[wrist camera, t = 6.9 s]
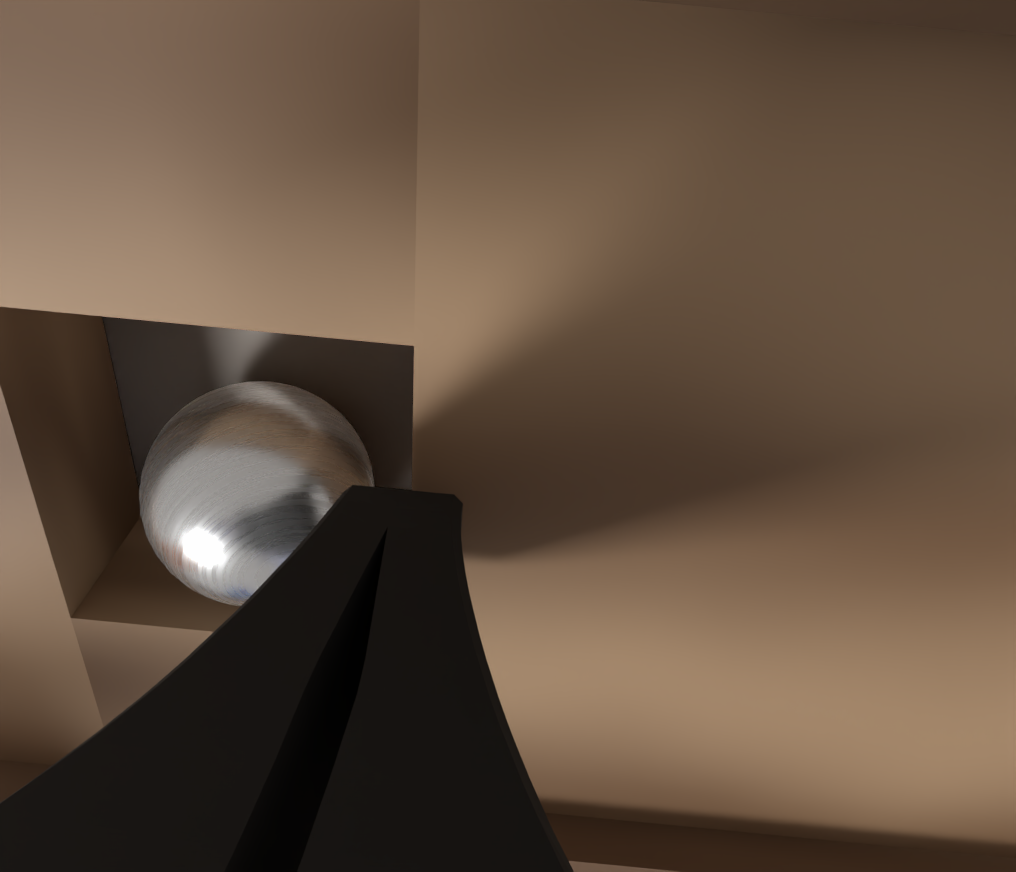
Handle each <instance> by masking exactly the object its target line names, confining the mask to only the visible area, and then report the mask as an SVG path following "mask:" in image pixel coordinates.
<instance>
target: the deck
mask: <svg viewBox="0 0 1016 872" xmlns="http://www.w3.org/2000/svg"><path fill="white" fill-rule="evenodd" d="M102 316H104V317H115V318H125V319H136V320H146V321H157V322H167V323H178V324H188V325H199V326H209V327H220V328H230V329H241V330H251V331H262V332H272V333H283V334H293V335H304V336H315V337H325V338H336V339H346V340H357V341H367V342H378V343H388V344H399V345H409V346H414V376H413V436H412V491H423V492H433V493H444V494H454V495H455V496H456V497H457V498H458V499H459V500H460V501H461V502H462V503H463V510H462V527H461V541H462V551H463V558H464V565H465V572H466V578H467V583H468V588H469V593H470V598H471V602H472V606H473V610H474V614H475V618H476V622H477V627H478V631H479V635H480V638H481V642H482V645H483V649H484V652H485V656H486V659H487V663H488V666H489V669H490V672H491V675H492V678H493V681H494V684H495V688H496V691H497V694H498V697H499V700H500V702H501V705H502V708H503V711H504V714H505V717H506V719H507V722H508V725H509V727H510V730H511V733H512V735H513V738H514V741H515V743H516V746H517V748H518V750H519V753H520V755H521V758H522V760H523V763H524V765H525V768H526V770H527V773H528V775H529V778H530V780H531V782H532V784H533V787H534V789H535V791H536V793H537V796H538V798H539V800H540V802H541V805H542V807H543V809H544V812H545V814H546V816H547V818H548V821H549V823H550V825H551V827H552V829H553V831H554V833H555V835H556V837H557V839H558V841H559V843H560V845H561V847H562V849H563V851H564V853H565V855H566V857H567V859H568V861H569V863H570V865H571V867H572V869H573V871H574V872H1016V0H0V802H2V801H3V800H5V799H6V798H8V797H9V796H10V795H12V794H13V793H15V792H16V791H18V790H19V789H20V788H22V787H23V786H25V785H26V784H27V783H29V782H30V781H32V780H33V779H34V778H36V777H37V776H39V775H40V774H41V773H43V772H44V771H45V770H47V769H48V768H49V767H51V766H52V765H53V764H55V763H56V762H57V761H59V760H60V759H61V758H63V757H64V756H66V755H67V754H68V753H70V752H71V751H72V750H74V749H75V748H76V747H78V746H79V745H80V744H82V743H83V742H84V741H86V740H87V739H88V738H90V737H91V736H93V735H94V734H95V733H96V732H98V731H99V730H100V729H102V728H103V727H104V726H105V725H107V724H108V723H109V722H110V721H112V720H113V719H114V718H115V717H117V716H118V715H119V714H120V713H122V712H123V711H124V710H125V709H127V708H128V707H129V706H130V705H132V704H133V703H134V702H135V701H137V700H138V699H139V698H140V697H141V696H143V695H144V694H145V693H146V692H147V691H149V690H150V689H151V688H152V687H153V686H155V685H156V684H157V683H158V682H159V681H160V680H162V679H163V678H164V677H165V676H166V675H167V674H168V673H170V672H171V671H172V670H173V669H174V668H175V667H176V666H178V665H179V664H180V663H181V662H182V661H183V660H184V659H185V658H187V657H188V656H189V655H190V654H191V653H192V652H193V651H194V650H195V649H196V648H197V647H198V646H199V645H200V644H201V643H203V642H204V641H205V640H206V639H207V638H208V637H209V636H210V635H211V634H212V633H213V632H214V631H215V630H216V629H217V628H218V627H220V626H221V625H222V624H223V623H224V622H225V621H226V620H227V619H228V618H229V617H230V616H231V615H232V614H233V613H234V612H235V611H236V610H237V609H238V608H239V607H241V606H235V605H229V604H226V603H222V602H219V601H216V600H212V599H210V598H207V597H205V596H203V595H201V594H199V593H197V592H196V591H194V590H192V589H191V588H189V587H187V586H186V585H184V584H183V583H182V582H181V581H180V580H178V579H177V578H176V577H175V576H174V575H173V574H172V573H170V572H169V571H168V569H167V568H166V567H165V566H164V564H163V563H162V562H161V561H160V559H159V558H158V557H157V555H156V554H155V552H154V550H153V548H152V546H151V544H150V542H149V540H148V538H147V536H146V533H145V529H144V526H143V522H142V518H141V515H140V500H139V488H138V484H137V479H136V474H135V469H134V465H133V460H132V455H131V451H130V446H129V441H128V437H127V432H126V427H125V422H124V418H123V413H122V408H121V404H120V399H119V394H118V389H117V385H116V380H115V375H114V371H113V366H112V361H111V357H110V352H109V347H108V342H107V338H106V333H105V328H104V324H103V319H102Z"/></svg>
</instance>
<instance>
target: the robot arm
mask: <svg viewBox="0 0 1016 872" xmlns="http://www.w3.org/2000/svg"><path fill="white" fill-rule="evenodd" d="M462 510H463V503H462V502H461V501H460V500H459V499H458V498H457V497H456V496H455V495H454V494H444V493H433V492H423V491H412V490H402V489H391V488H381V487H371V486H360V485H352V486H351V487H349V488H348V489H346V490H345V491H344V492H343V493H342V494H341V495H340V497H339V498H338V499H337V500H336V502H335V503H334V504H333V505H332V507H331V508H330V509H329V510H328V511H327V513H326V514H325V515H324V516H323V517H322V519H321V520H320V521H319V522H318V523H317V525H316V526H315V527H314V528H313V529H312V530H311V532H310V533H309V534H308V535H307V536H306V537H305V538H304V540H303V541H302V542H301V543H300V544H299V545H298V546H297V547H296V549H295V550H294V551H293V552H292V553H291V554H290V555H289V556H288V557H287V559H286V560H285V561H284V562H283V563H282V564H281V565H280V566H279V567H278V568H277V569H276V570H275V571H274V572H273V573H272V574H271V575H270V576H269V577H268V579H267V580H266V581H265V582H264V583H263V584H262V585H261V586H260V587H259V588H258V589H257V590H256V591H255V592H254V593H253V594H252V595H251V596H250V597H249V598H248V599H247V600H246V601H245V603H244V604H243V605H242V606H241V607H239V608H238V609H237V610H236V611H235V612H234V613H233V614H232V615H231V616H230V617H229V618H228V619H227V620H226V621H225V622H224V623H223V624H222V625H221V626H220V627H218V628H217V629H216V630H215V631H214V632H213V633H212V634H211V635H210V636H209V637H208V638H207V639H206V640H205V641H204V642H203V643H201V644H200V645H199V646H198V647H197V648H196V649H195V650H194V651H193V652H192V653H191V654H190V655H189V656H188V657H187V658H185V659H184V660H183V661H182V662H181V663H180V664H179V665H178V666H176V667H175V668H174V669H173V670H172V671H171V672H170V673H168V674H167V675H166V676H165V677H164V678H163V679H162V680H160V681H159V682H158V683H157V684H156V685H155V686H153V687H152V688H151V689H150V690H149V691H147V692H146V693H145V694H144V695H143V696H141V697H140V698H139V699H138V700H137V701H135V702H134V703H133V704H132V705H130V706H129V707H128V708H127V709H125V710H124V711H123V712H122V713H120V714H119V715H118V716H117V717H115V718H114V719H113V720H112V721H110V722H109V723H108V724H107V725H105V726H104V727H103V728H102V729H100V730H99V731H98V732H96V733H95V734H94V735H93V736H91V737H90V738H88V739H87V740H86V741H84V742H83V743H82V744H80V745H79V746H78V747H76V748H75V749H74V750H72V751H71V752H70V753H68V754H67V755H66V756H64V757H63V758H61V759H60V760H59V761H57V762H56V763H55V764H53V765H52V766H51V767H49V768H48V769H47V770H45V771H44V772H43V773H41V774H40V775H39V776H37V777H36V778H34V779H33V780H32V781H30V782H29V783H27V784H26V785H25V786H23V787H22V788H20V789H19V790H18V791H16V792H15V793H13V794H12V795H10V796H9V797H8V798H6V799H5V800H3V801H2V802H0V872H574V871H573V869H572V867H571V865H570V863H569V861H568V859H567V857H566V855H565V853H564V851H563V849H562V847H561V845H560V843H559V841H558V839H557V837H556V835H555V833H554V831H553V829H552V827H551V825H550V823H549V821H548V818H547V816H546V814H545V812H544V809H543V807H542V805H541V802H540V800H539V798H538V796H537V793H536V791H535V789H534V787H533V784H532V782H531V780H530V778H529V775H528V773H527V770H526V768H525V765H524V763H523V760H522V758H521V755H520V753H519V750H518V748H517V746H516V743H515V741H514V738H513V735H512V733H511V730H510V727H509V725H508V722H507V719H506V717H505V714H504V711H503V708H502V705H501V702H500V700H499V697H498V694H497V691H496V688H495V684H494V681H493V678H492V675H491V672H490V669H489V666H488V663H487V659H486V656H485V652H484V649H483V645H482V642H481V638H480V635H479V631H478V627H477V622H476V618H475V614H474V610H473V606H472V602H471V598H470V593H469V588H468V583H467V578H466V572H465V565H464V558H463V551H462V541H461V527H462Z"/></svg>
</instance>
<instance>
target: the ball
mask: <svg viewBox="0 0 1016 872" xmlns="http://www.w3.org/2000/svg"><path fill="white" fill-rule="evenodd" d="M352 485H360V486H371V487H374V478H373V472H372V466H371V463H370V460H369V457H368V454H367V451H366V449H365V446H364V444H363V442H362V441H361V439H360V437H359V435H358V434H357V432H356V431H355V429H354V428H353V426H352V425H351V424H350V423H349V422H348V421H347V419H346V418H345V417H344V416H343V415H342V414H341V413H340V412H339V411H338V410H336V409H335V408H334V407H333V406H331V405H330V404H329V403H327V402H326V401H325V400H323V399H321V398H320V397H318V396H316V395H314V394H312V393H310V392H308V391H306V390H303V389H301V388H298V387H295V386H291V385H287V384H282V383H276V382H269V381H251V382H242V383H236V384H231V385H227V386H224V387H220V388H218V389H215V390H212V391H210V392H208V393H206V394H204V395H202V396H200V397H198V398H196V399H195V400H193V401H192V402H190V403H188V404H187V405H186V406H185V407H184V408H182V409H181V410H180V411H179V412H177V413H176V414H175V415H174V416H173V417H172V418H171V419H170V420H169V421H168V422H167V423H166V425H165V426H164V427H163V429H162V430H161V431H160V433H159V434H158V436H157V437H156V439H155V440H154V442H153V444H152V446H151V448H150V450H149V452H148V455H147V457H146V460H145V463H144V466H143V469H142V474H141V481H140V489H139V500H140V515H141V518H142V522H143V526H144V529H145V533H146V536H147V538H148V540H149V542H150V544H151V546H152V548H153V550H154V552H155V554H156V555H157V557H158V558H159V559H160V561H161V562H162V563H163V564H164V566H165V567H166V568H167V569H168V571H169V572H170V573H172V574H173V575H174V576H175V577H176V578H177V579H178V580H180V581H181V582H182V583H183V584H184V585H186V586H187V587H189V588H191V589H192V590H194V591H196V592H197V593H199V594H201V595H203V596H205V597H207V598H210V599H212V600H216V601H219V602H222V603H226V604H229V605H235V606H242V605H243V604H244V603H245V601H246V600H247V599H248V598H249V597H250V596H251V595H252V594H253V593H254V592H255V591H256V590H257V589H258V588H259V587H260V586H261V585H262V584H263V583H264V582H265V581H266V580H267V579H268V577H269V576H270V575H271V574H272V573H273V572H274V571H275V570H276V569H277V568H278V567H279V566H280V565H281V564H282V563H283V562H284V561H285V560H286V559H287V557H288V556H289V555H290V554H291V553H292V552H293V551H294V550H295V549H296V547H297V546H298V545H299V544H300V543H301V542H302V541H303V540H304V538H305V537H306V536H307V535H308V534H309V533H310V532H311V530H312V529H313V528H314V527H315V526H316V525H317V523H318V522H319V521H320V520H321V519H322V517H323V516H324V515H325V514H326V513H327V511H328V510H329V509H330V508H331V507H332V505H333V504H334V503H335V502H336V500H337V499H338V498H339V497H340V495H341V494H342V493H343V492H344V491H345V490H346V489H348V488H349V487H351V486H352Z"/></svg>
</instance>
